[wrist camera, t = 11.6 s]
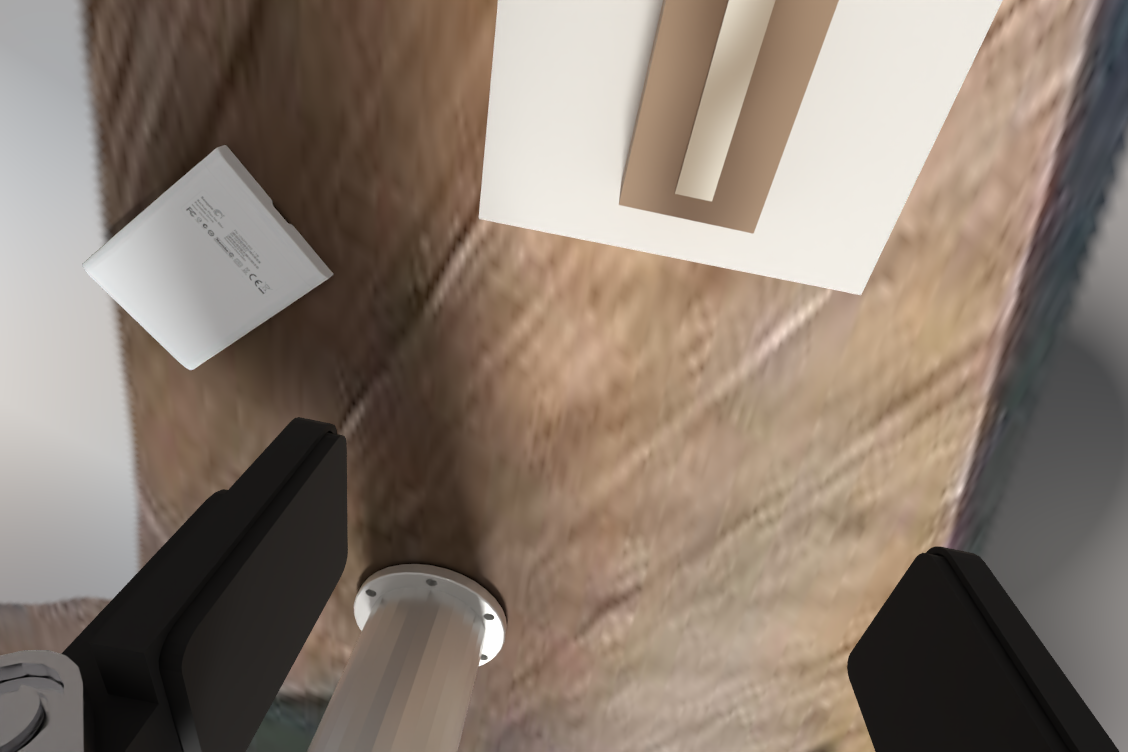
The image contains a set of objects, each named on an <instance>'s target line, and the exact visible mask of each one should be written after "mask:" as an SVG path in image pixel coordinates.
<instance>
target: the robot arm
mask: <svg viewBox="0 0 1128 752" xmlns="http://www.w3.org/2000/svg"><path fill="white" fill-rule="evenodd" d="M347 554H348V542H347V448H346V438H345V436H342V435H338V434H337V430H336V427H335V425H333V424H330V423H325V422H320V421H315V420H310V419H305V418H300V417H298V418H295V419H293V420H292V421H291V422H290V423H289V424H288V425H287V426H286V427H285V429H284V430H283V431H282V432H281V433H280V434H279V435H278V436H277V437H276V438H275V440H274V441H273V442H272V443H271V444H270V445H269V446H268V447H267V448H266V449H265V450H264V452H263V453H262V454H261V455H260V456H259V457H258V458H257V459H256V460H255V461H254V463H253V464H252V465H251V466H250V467H249V468H248V469H247V470H246V471H245V472H244V473H243V475H242V476H241V477H240V478H239V479H238V480H237V481H236V482H235V483H234V484H233V486H232V487H231V488H230V489H229V490H220V491H218V492H215V493H214V494H213V495H212V496H210V497H209V498H208V499H207V500H206V501H205V502H204V503H203V504H202V505H201V506H200V507H199V508H198V509H197V510H196V512H195V513H194V514H193V515H192V516H191V517H190V518H189V519H188V520H187V521H186V522H185V523H184V524H183V525H182V526H181V527H180V528H179V530H178V531H177V532H176V533H175V534H174V535H173V536H172V537H171V538H170V539H169V540H168V541H167V542H166V543H165V544H164V545H163V547H162V548H161V549H160V550H159V551H158V552H157V553H156V554H155V555H154V556H153V557H152V558H151V559H150V560H149V561H148V562H147V564H146V565H145V566H144V567H143V568H142V569H141V570H140V571H139V572H138V573H137V574H136V575H135V576H134V577H133V578H132V579H131V580H130V582H129V583H128V584H127V585H126V586H125V587H124V588H123V589H122V590H121V591H120V592H119V593H118V594H117V595H116V596H115V597H114V599H113V600H112V601H111V602H110V603H109V604H108V605H107V606H106V607H105V608H104V609H103V610H102V611H101V612H100V613H99V614H98V616H97V617H96V618H95V619H94V620H93V621H92V622H91V623H90V624H89V625H88V626H87V627H86V628H85V629H84V630H83V631H82V633H81V634H80V635H79V636H78V637H77V638H76V639H75V640H74V641H73V642H72V643H71V644H70V645H69V646H68V647H67V648H66V649H65V651H64V652H63V653H62V654H59V653H56V652H52V651H49V650H24V651H19V652H15V653H11V654H6V655H2V656H0V752H246V750H247V748H248V746H249V744H250V743H251V741H252V739H253V737H254V735H255V733H256V732H257V730H258V728H259V726H260V724H261V722H262V721H263V719H264V717H265V715H266V713H267V711H268V709H269V708H270V706H271V704H272V702H273V700H274V698H275V697H276V695H277V693H278V691H279V689H280V687H281V686H282V684H283V682H284V680H285V678H286V676H287V675H288V673H289V671H290V669H291V667H292V665H293V664H294V662H295V660H296V658H297V656H298V654H299V653H300V651H301V649H302V647H303V645H304V643H305V642H306V640H307V638H308V636H309V634H310V632H311V631H312V629H313V627H314V625H315V623H316V621H317V620H318V618H319V616H320V614H321V612H322V610H323V609H324V607H325V605H326V603H327V601H328V599H329V598H330V596H331V594H332V592H333V590H334V588H335V587H336V585H337V583H338V581H339V579H340V577H341V575H342V573H343V571H344V568H345V564H346V561H347ZM354 616H355V619H356V622H357V624H358V626H359V628H360V629H361V631H362V632H361V634H360V636H359V638H358V641H357V643H356V645H355V647H354V649H353V652H352V654H351V656H350V658H349V660H348V663H347V665H346V667H345V669H344V671H343V674H342V676H341V678H340V680H339V682H338V685H337V687H336V689H335V691H334V693H333V696H332V698H331V700H330V702H329V704H328V707H327V709H326V711H325V713H324V715H323V718H322V720H321V722H320V724H319V726H318V729H317V731H316V733H315V735H314V737H313V740H312V742H311V744H310V746H309V748H308V751H307V752H458V748H459V744H460V739H461V735H462V731H463V727H464V723H465V719H466V715H467V711H468V707H469V703H470V699H471V695H472V691H473V687H474V683H475V679H476V675H477V671H478V667H479V666H481V665H483V664H485V663H487V662H489V661H490V660H491V659H493V658H494V657H495V656H496V655H497V654H498V653H499V651H500V650H501V649H502V646H503V643H504V640H505V635H506V629H507V624H506V617H505V615H504V612H503V610H502V608H501V606H500V605H499V603H498V602H497V600H496V599H495V598H494V597H493V596H492V595H491V594H490V593H489V592H488V591H487V590H486V589H485V588H483V587H482V586H481V585H479V584H478V583H476V582H475V581H473V580H471V579H470V578H468V577H466V576H464V575H462V574H459V573H457V572H454V571H451V570H449V569H445V568H441V567H437V566H433V565H424V564H402V565H396V566H391V567H387V568H385V569H382V570H380V571H377V572H376V573H374V574H373V575H371V576H370V577H368V578H367V580H366V581H365V582H364V583H363V584H362V586H361V588H360V590H359V592H358V594H357V596H356V598H355V602H354ZM847 669H848V676H849V679H850V682H851V685H852V688H853V690H854V693H855V696H856V699H857V701H858V704H859V707H860V710H861V712H862V715H863V718H864V721H865V724H866V726H867V729H868V732H869V735H870V737H871V740H872V743H873V746H874V748H875V751H876V752H1119V750H1118V749H1117V748H1116V746H1115V745H1114V743H1113V742H1112V740H1111V739H1110V738H1109V736H1108V735H1107V733H1106V732H1105V731H1104V729H1103V728H1102V726H1101V725H1100V724H1099V722H1098V721H1097V719H1096V718H1095V716H1094V715H1093V714H1092V712H1091V711H1090V709H1089V708H1088V707H1087V705H1086V704H1085V703H1084V701H1083V700H1082V698H1081V697H1080V696H1079V694H1078V693H1077V691H1076V690H1075V688H1074V687H1073V686H1072V684H1071V683H1070V682H1069V680H1068V679H1067V677H1066V676H1065V674H1064V673H1063V672H1062V670H1061V669H1060V667H1059V666H1058V665H1057V663H1056V662H1055V660H1054V659H1053V658H1052V656H1051V655H1050V653H1049V652H1048V651H1047V649H1046V648H1045V646H1044V645H1043V643H1042V642H1041V641H1040V639H1039V638H1038V636H1037V635H1036V634H1035V632H1034V631H1033V630H1032V628H1031V627H1030V625H1029V624H1028V622H1027V621H1026V620H1025V618H1024V617H1023V615H1022V614H1021V613H1020V611H1019V610H1018V608H1017V607H1016V606H1015V604H1014V603H1013V601H1012V600H1011V599H1010V597H1009V596H1008V595H1007V593H1006V592H1005V590H1004V589H1003V587H1002V586H1001V584H1000V583H999V582H998V581H997V579H996V577H995V576H994V575H993V573H992V572H991V570H990V569H989V568H988V566H987V565H986V563H985V562H984V561H983V560H982V559H981V558H980V557H979V556H977V555H975V554H973V553H969V552H964V551H959V550H954V549H949V548H944V547H933V548H931V549H929V550H928V551H927V552H926V553H922V554H919V555H918V556H917V557H916V558H915V560H914V561H913V563H912V564H911V565H910V567H909V568H908V570H907V571H906V573H905V574H904V576H903V577H902V579H901V580H900V582H899V583H898V584H897V586H896V587H895V589H894V590H893V592H892V593H891V595H890V596H889V598H888V599H887V601H886V602H885V603H884V605H883V606H882V608H881V609H880V611H879V612H878V614H877V615H876V617H875V618H874V620H873V621H872V622H871V624H870V625H869V627H868V628H867V630H866V631H865V633H864V634H863V636H862V637H861V639H860V640H859V642H858V643H857V644H856V646H855V647H854V649H853V650H852V652H851V653H850V655H849V658H848V666H847Z"/></svg>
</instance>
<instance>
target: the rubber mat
mask: <svg viewBox="0 0 1128 752" xmlns="http://www.w3.org/2000/svg"><path fill="white" fill-rule="evenodd" d="M1001 2H1002V0H839V1H838V4H837V7H836V10H835V12H834V15H833V18H832V21H831V23H830V26H829V29H828V31H827V34H826V37H825V40H824V42H823V45H822V48H821V51H820V53H819V56H818V59H817V62H816V64H815V67H814V70H813V73H812V75H811V78H810V81H809V83H808V86H807V89H806V92H805V94H804V97H803V100H802V103H801V105H800V108H799V111H798V114H797V116H796V119H795V122H794V125H793V127H792V130H791V133H790V135H789V138H788V141H787V144H786V146H785V149H784V152H783V155H782V157H781V160H780V163H779V166H778V168H777V171H776V174H775V177H774V179H773V182H772V185H771V187H770V190H769V193H768V196H767V198H766V201H765V204H764V207H763V209H762V212H761V215H760V218H759V220H758V223H757V226H756V229H755V231H754V234H753V233H748V232H743V231H738V230H734V229H729V228H724V227H720V226H715V225H710V224H706V223H701V222H696V221H692V220H687V219H682V218H677V217H673V216H668V215H663V214H659V213H654V212H649V211H645V210H640V209H635V208H631V207H626V206H621V205H619V197H620V187H621V182H622V178H623V173H624V169H625V165H626V160H627V156H628V151H629V147H630V143H631V138H632V134H633V130H634V125H635V121H636V117H637V112H638V108H639V103H640V99H641V95H642V90H643V86H644V82H645V77H646V73H647V68H648V64H649V60H650V55H651V51H652V47H653V42H654V38H655V33H656V29H657V25H658V20H659V16H660V12H661V7H662V3H663V0H498V7H497V18H496V30H495V41H494V52H493V63H492V75H491V86H490V97H489V108H488V119H487V131H486V142H485V153H484V164H483V176H482V187H481V198H480V209H479V219H482V220H487V221H492V222H497V223H502V224H507V225H512V226H517V227H522V228H527V229H532V230H537V231H542V232H547V233H552V234H557V235H562V236H567V237H572V238H577V239H582V240H587V241H592V242H597V243H602V244H607V245H612V246H617V247H622V248H627V249H632V250H637V251H642V252H647V253H652V254H658V255H663V256H668V257H673V258H678V259H683V260H688V261H693V262H698V263H703V264H708V265H713V266H718V267H723V268H728V269H733V270H738V271H743V272H748V273H753V274H758V275H763V276H768V277H773V278H778V279H783V280H788V281H793V282H798V283H803V284H808V285H813V286H818V287H823V288H828V289H833V290H838V291H843V292H848V293H853V294H858V295H861V294H862V292H863V290H864V288H865V286H866V284H867V281H868V279H869V277H870V275H871V273H872V271H873V269H874V267H875V265H876V263H877V261H878V259H879V256H880V254H881V252H882V250H883V248H884V246H885V244H886V242H887V240H888V238H889V236H890V234H891V231H892V229H893V227H894V225H895V223H896V221H897V219H898V217H899V215H900V213H901V211H902V209H903V207H904V204H905V202H906V200H907V198H908V196H909V194H910V192H911V190H912V188H913V186H914V184H915V182H916V179H917V177H918V175H919V173H920V171H921V169H922V167H923V165H924V163H925V161H926V159H927V157H928V154H929V152H930V150H931V148H932V146H933V144H934V142H935V140H936V138H937V136H938V134H939V132H940V129H941V127H942V125H943V123H944V121H945V119H946V117H947V115H948V113H949V111H950V109H951V107H952V104H953V102H954V100H955V98H956V96H957V94H958V92H959V90H960V88H961V86H962V84H963V82H964V79H965V77H966V75H967V73H968V71H969V69H970V67H971V65H972V63H973V61H974V59H975V57H976V55H977V52H978V50H979V48H980V46H981V44H982V42H983V40H984V38H985V36H986V34H987V32H988V30H989V27H990V25H991V23H992V21H993V19H994V17H995V15H996V13H997V11H998V9H999V7H1000V5H1001Z"/></svg>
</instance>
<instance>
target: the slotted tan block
mask: <svg viewBox="0 0 1128 752" xmlns="http://www.w3.org/2000/svg"><path fill="white" fill-rule="evenodd" d="M838 1H839V0H663V3H662V7H661V12H660V16H659V20H658V25H657V29H656V33H655V38H654V42H653V47H652V51H651V55H650V60H649V64H648V68H647V73H646V77H645V82H644V86H643V90H642V95H641V99H640V103H639V108H638V112H637V117H636V121H635V125H634V130H633V134H632V138H631V143H630V147H629V151H628V156H627V160H626V165H625V169H624V173H623V178H622V182H621V187H620V197H619V205H621V206H626V207H631V208H635V209H640V210H645V211H649V212H654V213H659V214H663V215H668V216H673V217H677V218H682V219H687V220H692V221H696V222H701V223H706V224H710V225H715V226H720V227H724V228H729V229H734V230H738V231H743V232H748V233H753V234H754V231H755V229H756V226H757V223H758V220H759V218H760V215H761V212H762V209H763V207H764V204H765V201H766V198H767V196H768V193H769V190H770V187H771V185H772V182H773V179H774V177H775V174H776V171H777V168H778V166H779V163H780V160H781V157H782V155H783V152H784V149H785V146H786V144H787V141H788V138H789V135H790V133H791V130H792V127H793V125H794V122H795V119H796V116H797V114H798V111H799V108H800V105H801V103H802V100H803V97H804V94H805V92H806V89H807V86H808V83H809V81H810V78H811V75H812V73H813V70H814V67H815V64H816V62H817V59H818V56H819V53H820V51H821V48H822V45H823V42H824V40H825V37H826V34H827V31H828V29H829V26H830V23H831V21H832V18H833V15H834V12H835V10H836V7H837V4H838Z"/></svg>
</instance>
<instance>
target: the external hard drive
mask: <svg viewBox="0 0 1128 752" xmlns="http://www.w3.org/2000/svg"><path fill="white" fill-rule="evenodd" d="M82 266H83V268H84V270H85V271H86V273H87V274H88V275H89V276H90V277H91V278H92V279H93V280H94V281H95V282H96V283H97V284H99V285H100V286H101V287H102V288H103V289H104V290H105V291H106V292H107V293H108V294H109V295H110V296H111V297H112V298H113V299H114V300H115V301H116V302H117V303H118V304H119V305H120V306H121V307H123V308H124V309H125V310H126V311H127V312H128V313H129V314H130V315H131V316H132V317H133V318H134V319H135V320H136V321H137V322H138V323H139V324H140V325H141V326H142V327H143V328H144V329H145V330H146V331H147V332H148V333H149V334H150V335H151V336H152V337H153V338H154V339H156V340H157V341H158V342H159V343H160V344H161V345H162V346H163V347H164V348H165V349H166V350H167V351H168V352H169V353H170V354H171V355H172V356H173V357H174V358H175V359H176V360H177V361H178V362H179V363H181V364H182V365H183V366H184V367H185V368H187V369H189V370H193V369H195V368H196V367H198V366H199V365H201V364H202V363H204V362H205V361H207V360H208V359H210V358H211V357H213V356H214V355H216V354H217V353H219V352H220V351H222V350H223V349H225V348H226V347H228V346H229V345H231V344H232V343H234V342H235V341H237V340H238V339H240V338H241V337H243V336H244V335H246V334H247V333H249V332H250V331H252V330H253V329H254V328H256V327H257V326H259V325H260V324H262V323H263V322H265V321H266V320H268V319H269V318H271V317H272V316H274V315H275V314H277V313H278V312H280V311H281V310H283V309H284V308H286V307H287V306H289V305H290V304H292V303H293V302H295V301H296V300H298V299H299V298H301V297H302V296H304V295H305V294H306V293H308V292H309V291H311V290H312V289H314V288H315V287H317V286H318V285H320V284H321V283H323V282H324V281H326V280H327V279H329V278H330V277H331V276H332V275H333V273H332V272H331V270H330V269H329V268H328V267H327V266H326V264H325V263H324V262H323V261H322V260H321V258H320V257H319V256H318V255H317V254H316V252H315V251H314V250H313V249H312V248H311V246H310V245H309V244H308V243H307V242H306V240H305V239H304V238H303V237H302V236H301V234H300V233H299V232H298V231H297V230H296V228H295V227H294V226H293V225H292V224H288V223H287V222H286V220H285V219H284V218H283V217H282V216H281V215H280V213H279V212H278V211H277V210H276V209H275V207H274V206H273V201H272V200H271V198H270V197H269V196H268V195H267V194H266V192H265V191H264V190H263V189H262V188H261V186H260V185H259V184H258V183H257V182H256V180H255V179H254V178H253V177H252V176H251V174H250V173H249V172H248V171H247V169H246V168H245V167H244V166H243V165H242V163H241V162H240V161H239V160H238V159H237V157H236V156H235V155H234V154H233V153H232V151H231V150H230V149H229V148H228V147H227V146H226V145H223V146H220V147H217V148H216V149H214V150H213V151H212V152H211V153H210V154H209V155H208V156H206V157H205V158H204V159H203V160H202V161H201V162H199V163H198V164H197V165H196V166H195V167H194V168H192V169H191V170H190V171H189V172H188V173H187V174H185V175H184V176H183V177H182V178H181V179H179V180H178V181H177V182H176V183H175V184H174V185H172V186H171V187H170V188H169V189H168V190H167V191H165V192H164V193H163V194H162V195H161V196H160V197H159V198H158V199H156V200H155V201H154V202H153V203H152V204H151V205H149V206H148V207H147V208H146V209H145V210H144V211H142V212H141V213H140V214H139V215H138V216H137V217H136V218H134V219H133V220H132V221H131V222H130V223H129V224H127V225H126V226H125V227H124V228H123V229H122V230H120V231H119V232H118V233H117V234H116V235H115V236H114V237H112V238H111V239H110V240H109V241H108V242H107V243H106V244H104V245H103V246H102V247H101V248H100V249H99V250H98V251H96V252H95V253H94V254H93V255H92V256H91V257H89V259H87V260H86V261H85V262H84V263H83V264H82Z"/></svg>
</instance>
